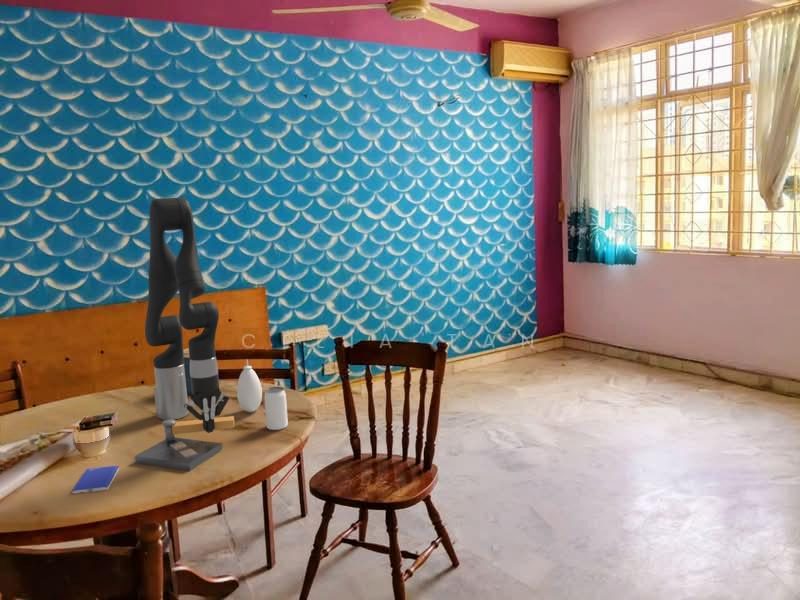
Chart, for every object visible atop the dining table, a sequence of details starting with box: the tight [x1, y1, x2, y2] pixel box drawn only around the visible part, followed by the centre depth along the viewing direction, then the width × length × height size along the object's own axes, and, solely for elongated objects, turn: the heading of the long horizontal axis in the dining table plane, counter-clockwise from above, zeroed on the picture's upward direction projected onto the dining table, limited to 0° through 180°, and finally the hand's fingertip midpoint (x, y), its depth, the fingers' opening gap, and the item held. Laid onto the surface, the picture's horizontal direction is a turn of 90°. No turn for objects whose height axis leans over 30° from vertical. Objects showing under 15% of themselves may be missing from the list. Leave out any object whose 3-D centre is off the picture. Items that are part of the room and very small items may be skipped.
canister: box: [183, 347, 192, 396], centre depth 238 cm, size 13×13×18 cm
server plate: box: [134, 437, 223, 472], centre depth 179 cm, size 18×14×2 cm
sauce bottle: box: [236, 359, 263, 413], centre depth 212 cm, size 8×8×18 cm
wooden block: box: [161, 415, 235, 441], centre depth 187 cm, size 20×4×5 cm, turn 102°
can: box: [264, 386, 289, 431], centre depth 198 cm, size 6×6×12 cm
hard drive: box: [72, 465, 120, 494], centre depth 166 cm, size 2×8×12 cm
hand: (209, 431), depth 185 cm, fingers closed
